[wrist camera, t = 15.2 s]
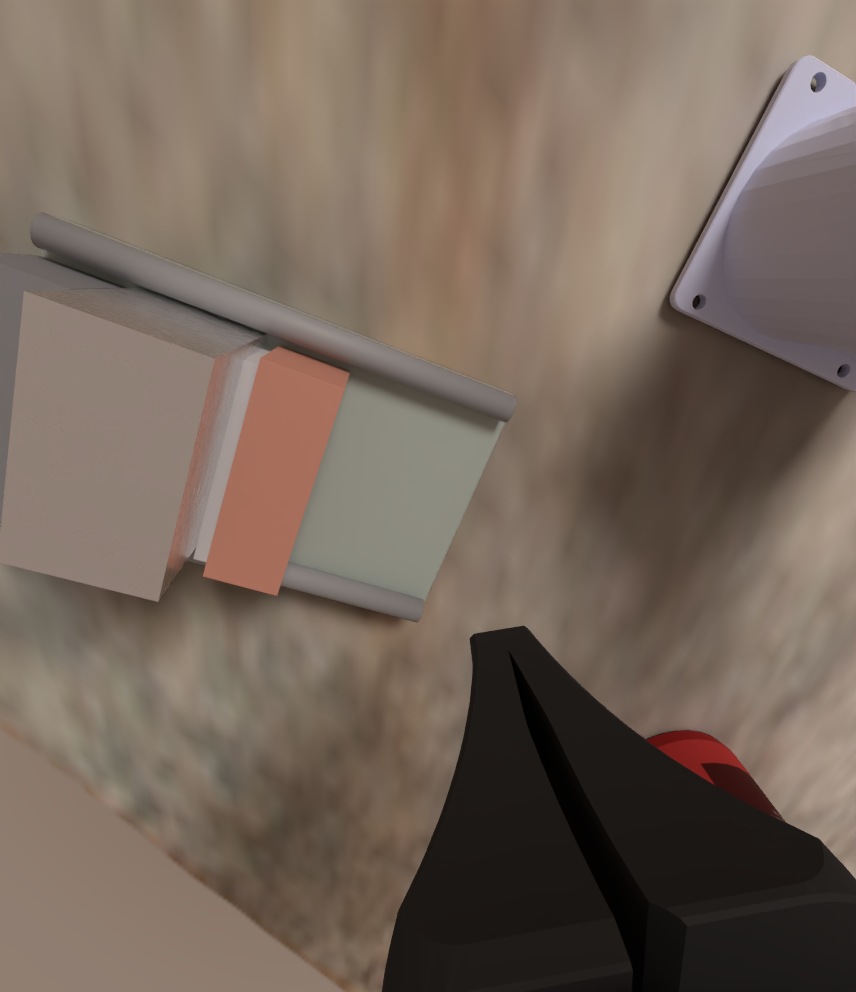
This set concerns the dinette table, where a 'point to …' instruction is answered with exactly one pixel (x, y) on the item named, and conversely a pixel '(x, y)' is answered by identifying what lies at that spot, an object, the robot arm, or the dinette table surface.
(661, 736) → the canned food
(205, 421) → the aluminium block
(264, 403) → the block
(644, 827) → the robot arm
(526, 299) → the dinette table surface
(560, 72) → the dinette table surface
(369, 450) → the vise base
